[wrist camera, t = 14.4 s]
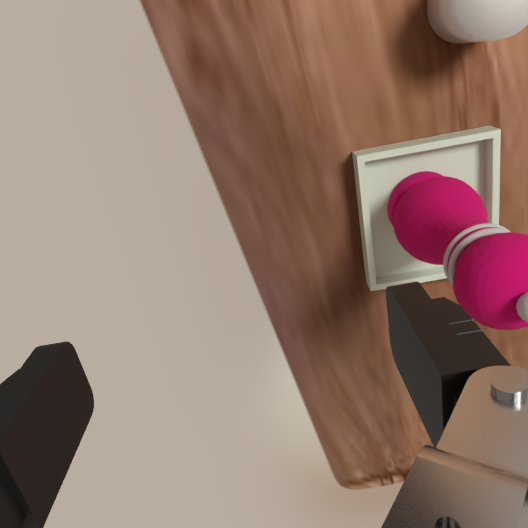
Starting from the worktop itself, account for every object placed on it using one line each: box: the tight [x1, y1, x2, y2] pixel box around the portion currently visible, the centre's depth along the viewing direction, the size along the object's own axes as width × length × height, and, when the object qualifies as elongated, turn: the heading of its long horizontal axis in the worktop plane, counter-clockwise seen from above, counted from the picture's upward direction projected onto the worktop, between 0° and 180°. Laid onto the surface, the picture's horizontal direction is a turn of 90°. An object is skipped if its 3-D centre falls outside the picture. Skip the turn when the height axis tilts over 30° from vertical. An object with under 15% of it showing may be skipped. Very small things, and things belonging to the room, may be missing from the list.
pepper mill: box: [387, 171, 528, 330], centre depth 35 cm, size 7×7×20 cm
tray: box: [352, 126, 501, 291], centre depth 44 cm, size 13×12×2 cm
